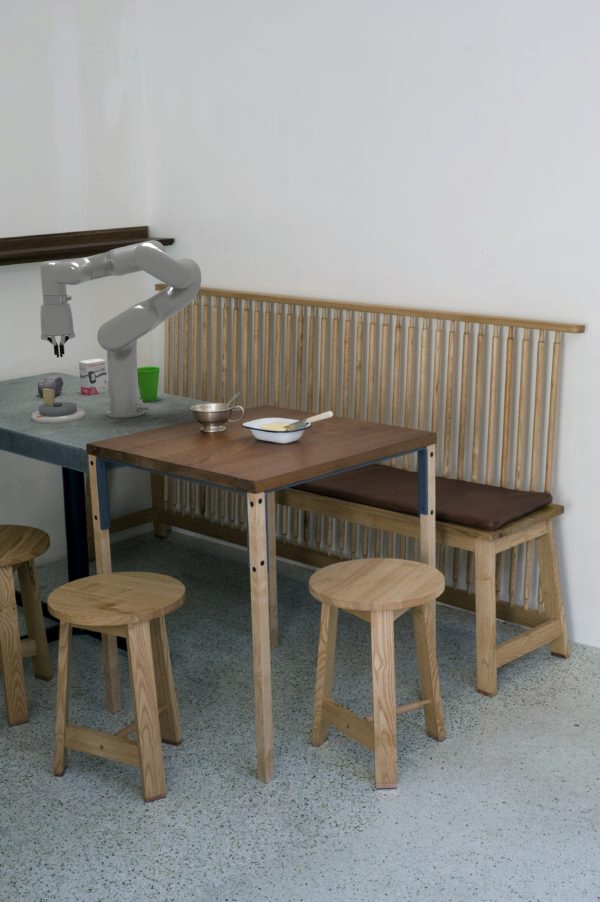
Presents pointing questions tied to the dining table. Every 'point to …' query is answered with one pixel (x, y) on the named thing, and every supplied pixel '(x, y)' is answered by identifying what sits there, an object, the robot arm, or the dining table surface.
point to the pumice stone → (51, 385)
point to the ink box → (93, 376)
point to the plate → (58, 417)
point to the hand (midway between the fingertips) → (59, 356)
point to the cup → (148, 382)
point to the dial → (55, 405)
